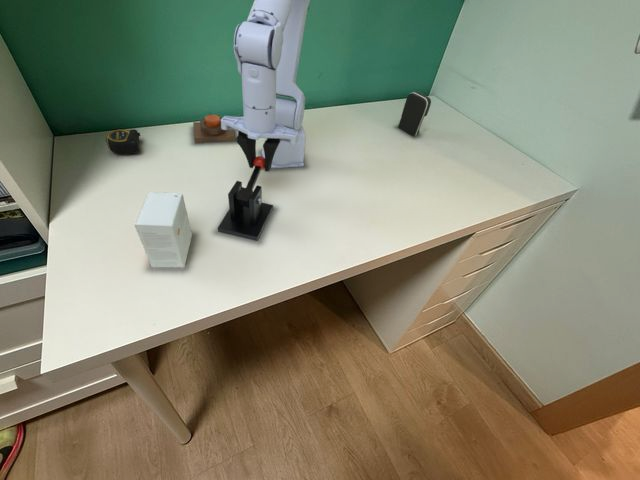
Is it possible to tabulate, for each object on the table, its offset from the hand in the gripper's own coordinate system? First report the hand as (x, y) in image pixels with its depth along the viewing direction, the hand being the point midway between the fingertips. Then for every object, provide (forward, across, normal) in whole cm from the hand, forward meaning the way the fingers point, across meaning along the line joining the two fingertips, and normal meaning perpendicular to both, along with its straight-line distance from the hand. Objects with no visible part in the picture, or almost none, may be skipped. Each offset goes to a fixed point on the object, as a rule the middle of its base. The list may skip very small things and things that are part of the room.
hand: (260, 167), depth 68 cm
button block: (+7, -20, +20) cm, 29 cm away
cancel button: (+4, -19, +19) cm, 28 cm away
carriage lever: (+1, 0, -4) cm, 4 cm away
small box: (+8, -10, -21) cm, 24 cm away
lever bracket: (+7, 0, -9) cm, 11 cm away
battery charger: (+8, +33, +46) cm, 57 cm away
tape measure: (+8, -35, +6) cm, 36 cm away
